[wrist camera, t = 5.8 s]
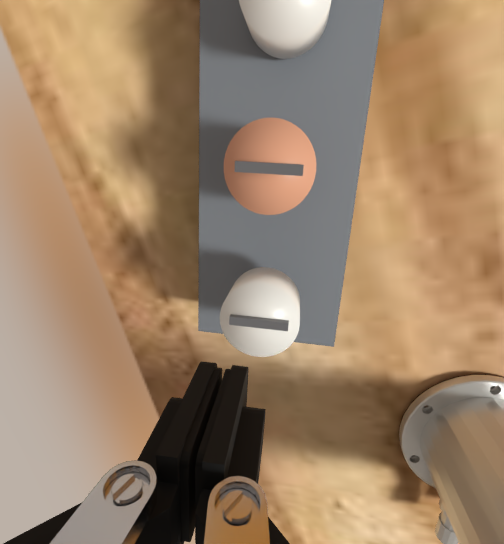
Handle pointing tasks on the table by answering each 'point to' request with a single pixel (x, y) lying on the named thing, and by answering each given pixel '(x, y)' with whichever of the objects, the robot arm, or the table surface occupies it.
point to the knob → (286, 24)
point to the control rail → (323, 136)
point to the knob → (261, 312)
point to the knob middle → (270, 166)
